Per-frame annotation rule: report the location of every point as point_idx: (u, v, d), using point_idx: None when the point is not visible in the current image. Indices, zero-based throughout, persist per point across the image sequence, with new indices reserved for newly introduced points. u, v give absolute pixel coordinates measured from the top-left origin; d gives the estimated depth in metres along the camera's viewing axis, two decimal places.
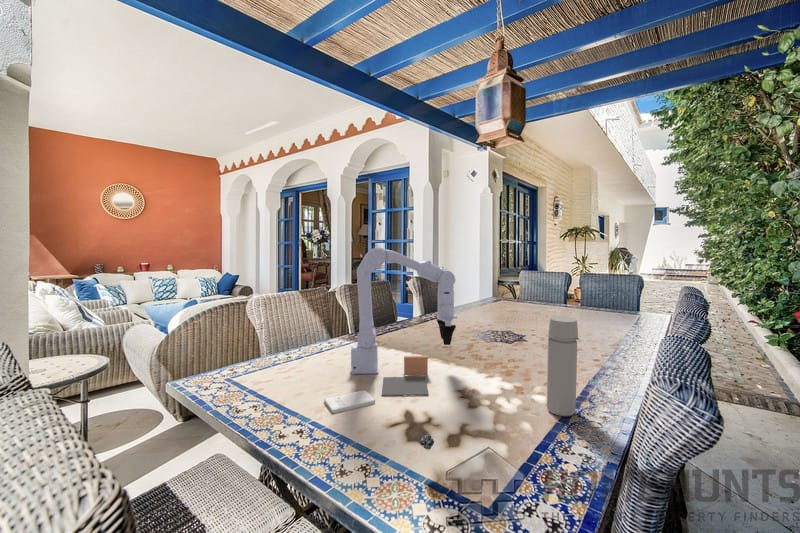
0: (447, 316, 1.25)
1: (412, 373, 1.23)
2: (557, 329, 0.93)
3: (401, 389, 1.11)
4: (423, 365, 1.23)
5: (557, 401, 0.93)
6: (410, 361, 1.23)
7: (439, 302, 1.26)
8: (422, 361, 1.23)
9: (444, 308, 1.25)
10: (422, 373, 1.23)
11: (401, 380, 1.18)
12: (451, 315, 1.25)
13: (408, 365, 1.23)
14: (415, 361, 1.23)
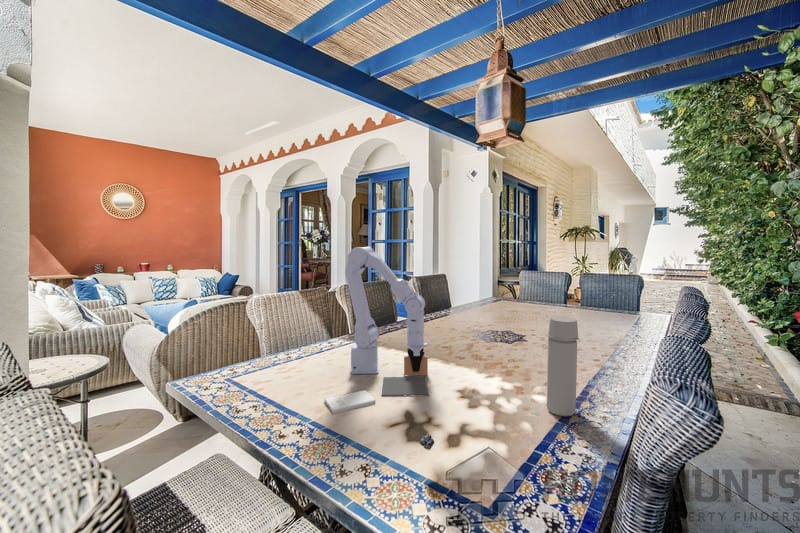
0: (416, 344, 1.20)
1: (412, 373, 1.23)
2: (557, 329, 0.93)
3: (401, 389, 1.11)
4: (423, 365, 1.23)
5: (557, 401, 0.93)
6: (410, 361, 1.23)
7: (407, 329, 1.22)
8: (422, 361, 1.23)
9: (413, 336, 1.20)
10: (422, 373, 1.23)
11: (401, 380, 1.18)
12: (421, 343, 1.21)
13: (408, 365, 1.23)
14: None
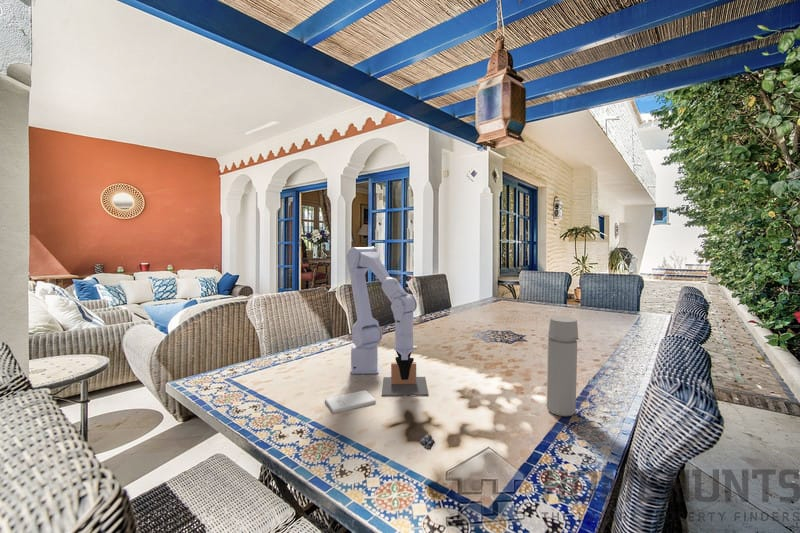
0: (405, 348, 1.12)
1: (400, 381, 1.15)
2: (557, 329, 0.93)
3: (401, 389, 1.11)
4: (411, 372, 1.15)
5: (557, 401, 0.93)
6: (398, 368, 1.15)
7: None
8: (410, 368, 1.15)
9: (401, 339, 1.12)
10: (410, 381, 1.15)
11: None
12: (409, 346, 1.13)
13: (395, 372, 1.15)
14: None
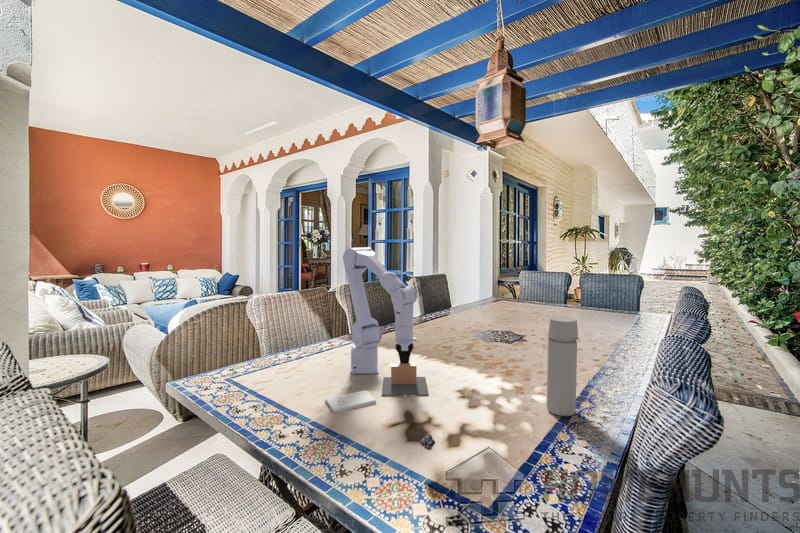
0: (405, 339, 1.12)
1: (400, 381, 1.15)
2: (557, 329, 0.93)
3: (401, 389, 1.11)
4: (412, 374, 1.14)
5: (557, 401, 0.93)
6: (398, 370, 1.13)
7: None
8: (410, 370, 1.14)
9: (401, 330, 1.12)
10: (410, 381, 1.15)
11: None
12: (409, 338, 1.13)
13: (395, 374, 1.14)
14: (403, 370, 1.14)
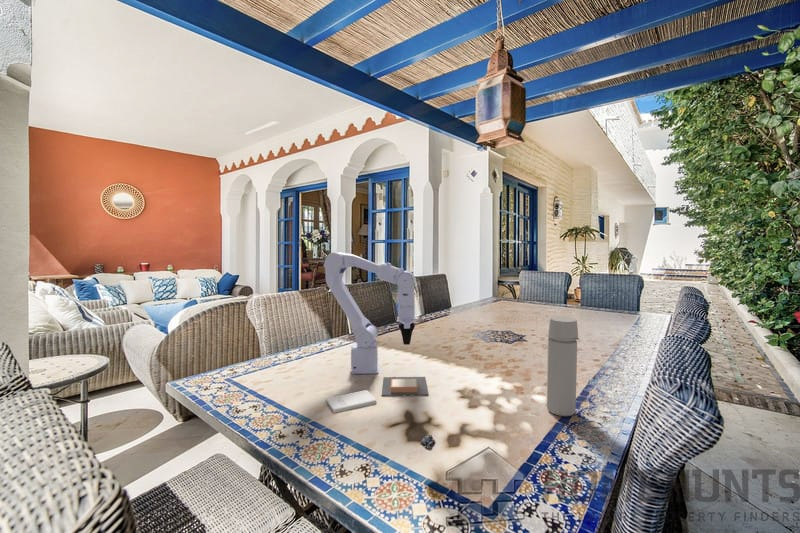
0: (407, 318, 1.23)
1: None
2: (557, 329, 0.93)
3: None
4: None
5: (557, 401, 0.93)
6: None
7: (399, 304, 1.24)
8: None
9: (404, 310, 1.23)
10: None
11: None
12: (411, 317, 1.23)
13: None
14: None
